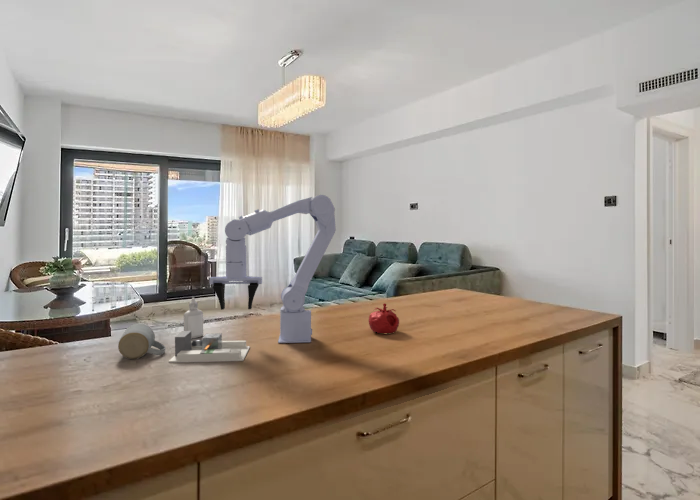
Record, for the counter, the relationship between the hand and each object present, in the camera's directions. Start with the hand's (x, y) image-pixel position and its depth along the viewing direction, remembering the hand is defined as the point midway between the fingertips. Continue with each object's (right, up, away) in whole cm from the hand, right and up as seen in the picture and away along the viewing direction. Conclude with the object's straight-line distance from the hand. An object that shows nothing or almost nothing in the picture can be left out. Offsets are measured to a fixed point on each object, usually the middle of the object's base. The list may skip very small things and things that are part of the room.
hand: (236, 308), depth 117 cm
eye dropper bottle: (-15, -10, +6) cm, 19 cm away
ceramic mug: (-21, -11, -11) cm, 26 cm away
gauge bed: (-3, -10, -11) cm, 15 cm away
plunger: (-5, -10, -12) cm, 17 cm away
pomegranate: (+44, -10, +14) cm, 47 cm away
